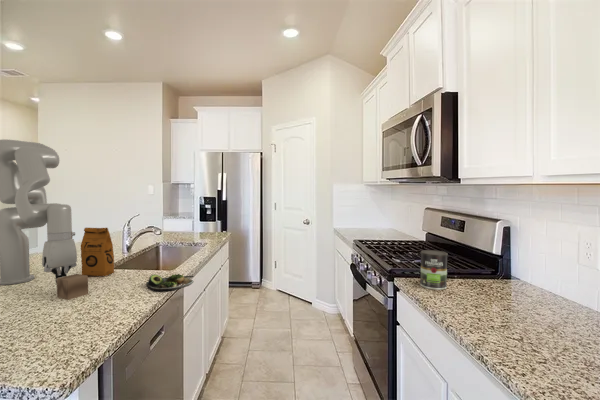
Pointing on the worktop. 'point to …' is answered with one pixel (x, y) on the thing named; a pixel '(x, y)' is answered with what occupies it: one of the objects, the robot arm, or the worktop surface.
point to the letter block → (72, 286)
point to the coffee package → (97, 252)
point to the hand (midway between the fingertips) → (61, 284)
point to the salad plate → (168, 282)
